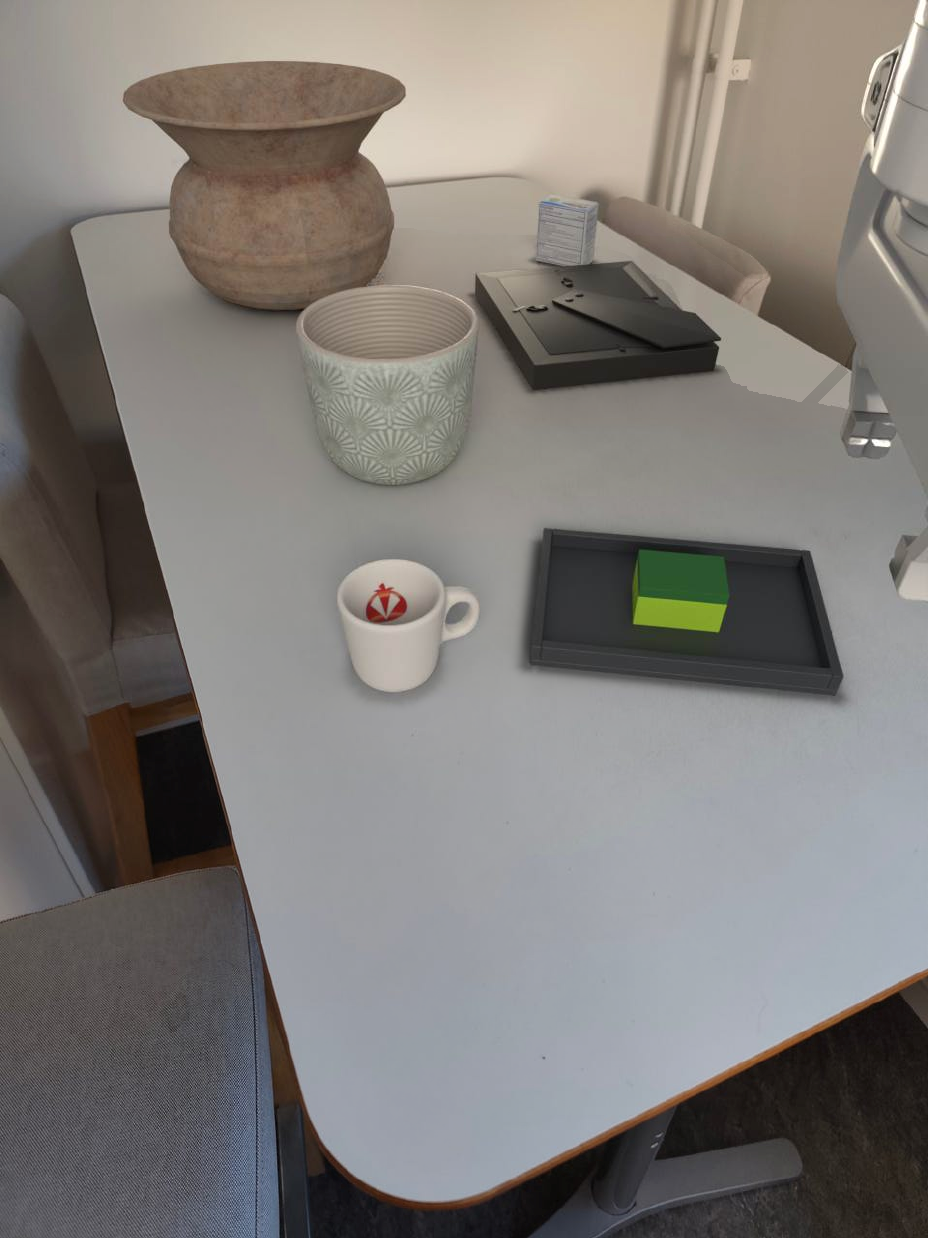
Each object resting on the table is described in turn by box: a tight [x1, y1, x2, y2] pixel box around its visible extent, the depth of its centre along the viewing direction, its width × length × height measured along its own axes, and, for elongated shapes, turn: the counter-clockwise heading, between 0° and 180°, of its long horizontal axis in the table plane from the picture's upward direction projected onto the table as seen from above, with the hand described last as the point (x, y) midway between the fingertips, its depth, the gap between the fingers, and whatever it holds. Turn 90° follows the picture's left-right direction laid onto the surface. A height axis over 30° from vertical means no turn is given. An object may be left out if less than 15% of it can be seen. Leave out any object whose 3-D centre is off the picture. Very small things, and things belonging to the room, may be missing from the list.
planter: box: [295, 284, 480, 486], centre depth 85 cm, size 17×17×15 cm
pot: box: [122, 60, 407, 311], centre depth 115 cm, size 34×34×25 cm
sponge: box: [632, 549, 729, 632], centre depth 72 cm, size 7×5×4 cm
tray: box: [529, 527, 844, 696], centre depth 73 cm, size 24×16×2 cm, turn 83°
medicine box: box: [535, 194, 600, 267], centre depth 129 cm, size 8×4×9 cm, turn 60°
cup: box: [336, 558, 481, 693], centre depth 66 cm, size 11×8×8 cm
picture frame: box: [474, 260, 722, 390], centre depth 113 cm, size 23×4×28 cm
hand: (885, 512), depth 35 cm, fingers open, 8 cm apart
